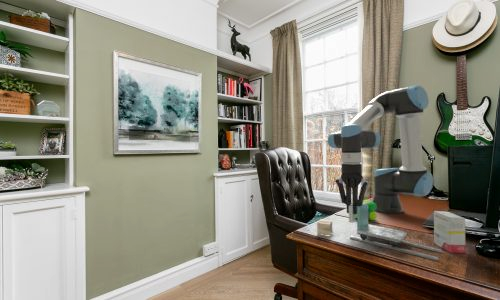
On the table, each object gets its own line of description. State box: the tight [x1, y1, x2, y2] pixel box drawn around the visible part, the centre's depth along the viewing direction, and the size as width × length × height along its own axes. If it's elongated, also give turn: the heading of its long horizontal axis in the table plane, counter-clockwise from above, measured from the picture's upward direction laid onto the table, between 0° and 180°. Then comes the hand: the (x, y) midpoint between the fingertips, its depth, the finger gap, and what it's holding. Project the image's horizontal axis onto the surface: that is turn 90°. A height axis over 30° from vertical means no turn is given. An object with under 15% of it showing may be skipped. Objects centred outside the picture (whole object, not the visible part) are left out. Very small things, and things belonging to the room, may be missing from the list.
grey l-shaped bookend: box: [356, 202, 408, 247], centre depth 88 cm, size 10×14×12 cm
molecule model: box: [355, 199, 378, 221], centre depth 116 cm, size 9×9×9 cm
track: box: [349, 233, 442, 262], centre depth 85 cm, size 9×27×1 cm, turn 45°
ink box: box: [433, 210, 466, 254], centre depth 82 cm, size 9×5×12 cm, turn 173°
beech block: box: [316, 219, 333, 236], centre depth 97 cm, size 5×5×5 cm
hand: (352, 221), depth 95 cm, fingers closed
